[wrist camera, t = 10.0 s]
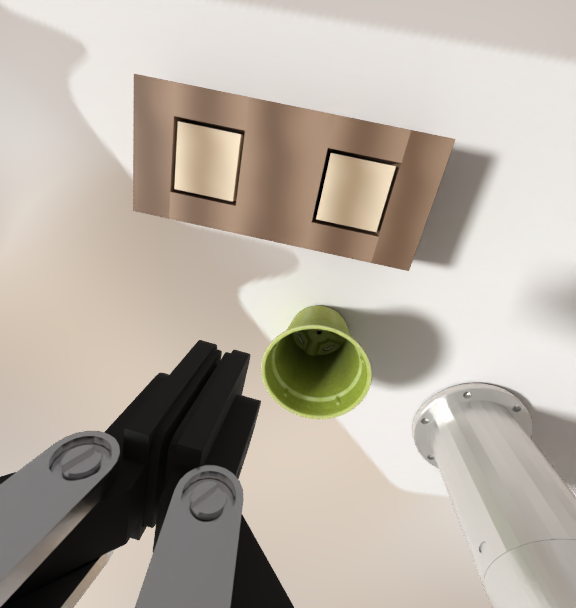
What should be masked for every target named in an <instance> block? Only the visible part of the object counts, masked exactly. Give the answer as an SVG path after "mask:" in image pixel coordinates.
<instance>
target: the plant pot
mask: <svg viewBox="0 0 576 608" xmlns="http://www.w3.org/2000/svg"><path fill="white" fill-rule="evenodd" d="M318 330H320V331H321V334H317V331H318ZM297 334H300V336H301V339H302V340H303V341H304V344H302V343H300V341H299V339H298V337H297ZM332 345H334V347H333V348H332V349H330V350H327V351H324V350H323V349H324V348H328V347H331V346H332ZM261 375H262V380H263V383H264V385H265V387H266V389H267V391H268V392H269V394H270V395H271V397H272V398H273V399H274V400H275V401H276V402H277V403H278V404H279V405H280V406H282V407H283V408H285V409H286V410H288V411H290V412H291V413H294V414H296V415H299V416H301V417H305V418H311V419H329V418H335V417H338V416H341V415H343V414H346V413H348V412H349V411H351V410H352V409H354V408H355V407H356V406H357V405H359V404H360V403H361V401H362V400H363V399H364V398H365V396H366V394H367V392H368V390H369V388H370V385H371V380H372V370H371V365H370V361H369V359H368V356H367V354H366V352H365V351H364V349H363V348H362V347H361V345H360V344H359V343H358V342H357V341H356V340H355V339H354V338H352V337H351V334H350V332H349V330H348V327H347V325H346V323H345V320H344V319H343V317H342V316H341V315H340V314H339V313H338V312H337V311H335V310H333V309H331V308H328V307H325V306H321V305H316V306H310V307H307V308H305V309H303V310H302V311H300V312H299V313H298V314H297V315H296V317H295V318H294V320H293V321H292V323H291V324H290V326H289V327H288V329H287V330H286V331H285V332H283V333H282V334H280V335H279V336H277V337H276V338H275V339H274V340H273V341H272V342H271V344H270V345H269V346H268V348H267V350H266V351H265V354H264V356H263V360H262V364H261Z"/></svg>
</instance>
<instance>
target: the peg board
mask: <svg viewBox="0 0 576 608" xmlns="http://www.w3.org/2000/svg"><path fill="white" fill-rule="evenodd" d="M178 121H179V122H184V123H188V124H193V125H199V126H204V127H209V128H214V129H219V130H223V131H228V132H233V133H238V134H243V135H244V143H243V151H242V159H241V167H240V175H239V183H238V191H237V199H236V201H228V200H223V199H219V198H214V197H209V196H205V195H200V194H195V193H191V192H186V191H182V190H177V189H174V186H175V167H176V148H177V128H178ZM454 142H455V139H452V138H447V137H442V136H437V135H432V134H427V133H422V132H418V131H413V130H408V129H403V128H398V127H393V126H388V125H383V124H378V123H373V122H368V121H364V120H359V119H354V118H349V117H344V116H339V115H334V114H329V113H324V112H319V111H314V110H309V109H305V108H300V107H295V106H290V105H285V104H280V103H275V102H270V101H265V100H260V99H255V98H251V97H246V96H241V95H236V94H231V93H226V92H221V91H216V90H211V89H206V88H201V87H197V86H192V85H187V84H182V83H177V82H172V81H167V80H162V79H157V78H152V77H147V76H142V75H138V74H134V153H133V211H137V212H142V213H146V214H151V215H156V216H160V217H164V218H169V219H173V220H178V221H182V222H187V223H192V224H196V225H201V226H205V227H210V228H214V229H219V230H224V231H228V232H233V233H237V234H242V235H246V236H251V237H256V238H260V239H265V240H269V241H274V242H279V243H283V244H288V245H292V246H297V247H301V248H306V249H311V250H315V251H320V252H324V253H329V254H333V255H338V256H343V257H347V258H352V259H356V260H361V261H365V262H370V263H375V264H379V265H384V266H388V267H393V268H398V269H402V270H407V271H409V269H410V266H411V263H412V261H413V258H414V255H415V252H416V249H417V247H418V244H419V241H420V238H421V235H422V232H423V230H424V227H425V224H426V221H427V218H428V215H429V213H430V210H431V207H432V204H433V201H434V199H435V196H436V193H437V190H438V187H439V184H440V182H441V179H442V176H443V173H444V170H445V168H446V165H447V162H448V159H449V156H450V153H451V151H452V148H453V145H454ZM328 152H329V153H334V154H339V155H344V156H349V157H353V158H358V159H363V160H368V161H373V162H377V163H382V164H387V165H391V166H396V168H395V171H394V175H393V178H392V181H391V185H390V188H389V191H388V195H387V198H386V201H385V205H384V208H383V212H382V215H381V218H380V222H379V225H378V228H377V232H373V231H368V230H364V229H359V228H354V227H350V226H345V225H340V224H336V223H331V222H326V221H322V220H317V219H316V217H317V216H315V215H314V213H315V209H316V204H317V199H318V195H319V190H320V186H321V181H322V177H323V172H324V167H325V163H326V158H327V154H328Z"/></svg>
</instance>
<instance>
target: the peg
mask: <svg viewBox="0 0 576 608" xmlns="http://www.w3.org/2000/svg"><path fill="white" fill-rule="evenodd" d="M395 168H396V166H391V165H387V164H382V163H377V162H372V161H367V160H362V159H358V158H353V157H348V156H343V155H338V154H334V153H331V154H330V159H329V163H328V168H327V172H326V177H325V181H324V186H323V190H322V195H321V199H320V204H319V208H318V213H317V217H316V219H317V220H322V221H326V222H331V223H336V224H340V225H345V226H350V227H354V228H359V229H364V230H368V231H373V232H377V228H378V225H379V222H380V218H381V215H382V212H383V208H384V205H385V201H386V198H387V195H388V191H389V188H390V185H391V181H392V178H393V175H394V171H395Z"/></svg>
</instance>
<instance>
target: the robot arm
mask: <svg viewBox="0 0 576 608" xmlns="http://www.w3.org/2000/svg"><path fill="white" fill-rule="evenodd" d="M221 353H222V352H221V351H220V350H217V345H216V344H212V343H209V342H205V341H202V340H199V341H198V342H197V343H196V344H195V346H194V347H193V348H192V349H191V350H190V351H189V353H188V354H187V355H186V356H185V357H184V358H183V360H182V361H181V362H180V363H179V364H178V366H177V367H176V368H175V369H174V370H173V371H172V373H171V374H170V375H168V374H165V373H159V374H158V375H157V376H156V377H155V378H154V379H153V380H152V381H151V382H150V383H149V384H148V385H147V386H146V387H145V389H144V390H143V391H142V392H141V393H140V394H139V395H138V396H137V397H136V398H135V400H134V401H133V402H132V403H131V404H130V405H129V406H128V407H127V408H126V409H125V410H124V412H123V413H122V414H121V415H120V416H119V417H118V418H117V419H116V420H115V421H114V423H113V424H112V425H111V426H110V427H109V428H108V429H107V430H106V431H105V432H100V431H84V432H79V433H75V434H72V435H70V436H67V437H65V438H63V439H62V440H60V441H58V442H56V443H55V444H53V445H52V446H51V447H49V448H48V449H47V450H45V451H44V452H43V453H42V454H40V455H39V456H37V457H36V458H35V459H33V460H32V461H31V462H29V463H28V464H27V465H25V466H24V467H23V468H22V469H20V470H19V471H18V472H15V473H11V474H8V475H5V476H1V477H0V608H73V607H74V606H75V605H76V603H77V602H78V601H79V599H80V598H81V597H82V596H83V594H84V593H85V592H86V590H87V589H88V588H89V586H90V585H91V584H92V582H93V581H94V579H95V578H96V577H97V576H98V574H99V573H100V571H101V570H102V569H103V568H104V566H105V565H106V564H107V562H108V560H109V559H110V557H111V555H112V554H113V550H114V549H116V548H118V547H120V546H122V545H125V544H126V543H127V542H128V540H129V538H133V539H137V540H140V538H141V536H142V534H143V532H144V530H145V529H146V527H147V526H148V527H151V528H153V527H154V526H155V524H156V530H155V538H154V546H153V555H152V558H151V561H150V564H149V567H148V570H147V573H146V576H145V579H144V582H143V585H142V588H141V591H140V594H139V597H138V600H137V603H136V606H135V608H294V606H293V605H292V603H291V601H290V599H289V597H288V596H287V594H286V592H285V590H284V589H283V587H282V585H281V583H280V581H279V580H278V578H277V576H276V574H275V572H274V571H273V569H272V567H271V565H270V564H269V562H268V560H267V558H266V556H265V555H264V553H263V551H262V549H261V548H260V546H259V544H258V542H257V541H256V538H255V537H254V535H253V533H252V531H251V530H250V528H249V526H248V524H247V522H246V521H245V519H244V517H243V515H242V506H243V489H242V486H241V484H240V481H239V480H238V478H239V475H240V472H241V469H242V466H243V463H244V460H245V457H246V454H247V450H248V447H249V444H250V441H251V437H252V434H253V430H254V427H255V423H256V419H257V416H258V412H259V408H260V403H261V401H259V400H256V399H252V398H249V397H245V396H242V391H243V387H244V382H245V378H246V373H247V369H248V365H249V360H250V354H248V353H245V352H241V351H237V350H233V351H232V353H228V352H226V353H225V354H224V356H223V357H222V359H221ZM532 428H533V425H532V419H531V416H530V414H529V412H528V410H527V408H526V407H525V406H524V405H523V403H522V402H521V401H520V400H519V399H518V398H517V397H516V396H515V395H513V394H512V393H510V392H508V391H507V390H505V389H503V388H500V387H497V386H494V385H489V384H481V383H470V384H461V385H457V386H453V387H450V388H447V389H445V390H443V391H440V392H438V393H437V394H435V395H434V396H432V397H431V398H429V399H428V400H427V401H426V402H425V403H424V404H423V405H422V406H421V408H420V409H419V410H418V412H417V414H416V416H415V418H414V421H413V426H412V432H413V438H414V442H415V445H416V447H417V449H418V451H419V453H420V454H421V455H422V457H423V458H424V459H425V460H426V461H428V462H429V463H430V464H432V465H433V466H435V467H437V468H439V470H440V473H441V475H442V478H443V481H444V483H445V486H446V489H447V491H448V494H449V497H450V499H451V502H452V504H453V507H454V510H455V513H456V515H457V518H458V520H459V523H460V526H461V528H462V531H463V534H464V536H465V539H466V542H467V544H468V547H469V550H470V552H471V555H472V557H473V560H474V562H475V565H476V568H477V571H478V573H479V576H480V579H481V581H482V584H483V587H484V589H485V592H486V595H487V597H488V600H489V602H490V605H491V608H576V497H575V495H574V494H573V493H572V492H571V490H570V489H569V488H568V486H567V485H566V484H565V482H564V481H563V480H562V479H561V477H560V476H559V475H558V473H557V472H556V471H555V469H554V468H553V467H552V466H551V464H550V463H549V462H548V460H547V459H546V458H545V457H544V455H543V454H542V453H541V451H540V450H539V449H538V447H537V446H536V445H535V444H534V442H533V441H532V440H531V436H532Z"/></svg>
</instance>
